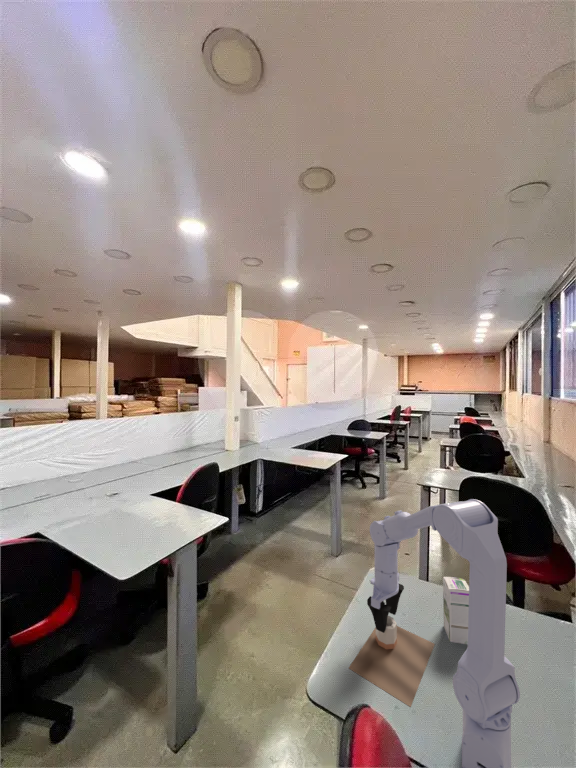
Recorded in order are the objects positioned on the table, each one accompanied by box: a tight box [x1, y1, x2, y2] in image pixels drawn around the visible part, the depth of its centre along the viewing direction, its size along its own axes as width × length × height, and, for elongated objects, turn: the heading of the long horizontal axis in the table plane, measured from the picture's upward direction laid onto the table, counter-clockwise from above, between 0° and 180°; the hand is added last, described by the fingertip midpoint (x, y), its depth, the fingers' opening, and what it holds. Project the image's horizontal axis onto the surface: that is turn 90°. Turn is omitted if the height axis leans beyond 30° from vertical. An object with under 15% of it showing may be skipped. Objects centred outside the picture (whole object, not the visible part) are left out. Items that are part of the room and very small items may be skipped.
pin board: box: [348, 624, 436, 708], centre depth 75 cm, size 20×14×5 cm
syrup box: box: [442, 576, 469, 645], centre depth 81 cm, size 6×6×14 cm
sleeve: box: [376, 615, 398, 649], centre depth 79 cm, size 5×5×5 cm
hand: (386, 621), depth 79 cm, fingers open, 7 cm apart
